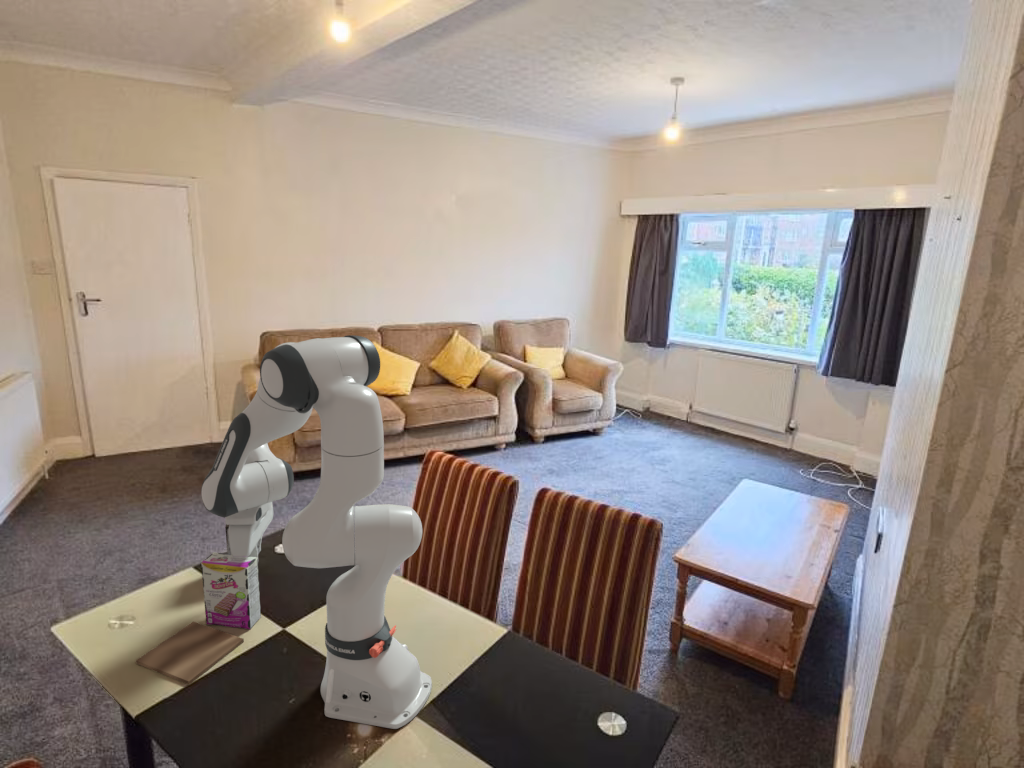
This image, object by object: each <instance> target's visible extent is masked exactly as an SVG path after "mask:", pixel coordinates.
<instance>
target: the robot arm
mask: <svg viewBox="0 0 1024 768" xmlns="http://www.w3.org/2000/svg"><path fill="white" fill-rule="evenodd" d="M380 372H381V358H380V354H379V351H378V350H377V347H376V346H375V344H374V343H373V342H372V341H371V340H370V339H369V338H367V337H364V336H362V335H361V336H360V335H352V334H350V335H349V334H347V335H345V336H336V337H335V336H334V337H325V338H320V337H317V338H312V339H306V340H302V341H298V342H296V341H295V342H293V341H290V342H289V341H288V342H283V343H280V344H278V345H277V346H275V347H274V348H272V349H271V350H268V351H267V352H266V353H265V354H264V355H263V357H262V359H261V362H260V367H259V381H258V385H257V390H256V393H255V395H254V396H253V398H252V399H251V400H250V402H249V403H248V405H247V406H246V407H245V409H243V410H242V412H240V413H239V414H238V415H236V417H234V418H233V419H232V421H231V423H230V425H229V427H228V429H227V430H226V434H225V435H224V438H223V441H222V443H221V445H220V447H219V450H218V453H217V455H216V458H215V460H214V463H213V464H212V467H211V469H210V470H209V472H208V473H207V475H206V476H205V478H204V480H203V482H202V484H201V501H202V504H203V506H204V508H205V510H206V511H207V512H209V513H212V514H213V515H215V516H217V517H220V518H224V519H225V520H224V521H225V526H226V525H229V530H228V535H229V544H230V551H231V554H232V556H233V557H248V556H250V557H257V556H258V557H259V554H260V552H261V551H262V540H263V535H264V533H265V531H266V530H267V528H268V527H269V526H270V524H271V522H272V521H273V518H274V507H273V506H274V505H273V502H275V501H279V500H282V499H284V498H287V497H288V496H289V495H290V493H291V492H292V489H293V487H294V485H295V484H294V483H295V482H294V481H295V477H294V476H295V475H294V470H293V467H292V465H291V464H290V463H288V462H287V461H285V460H284V459H281V458H280V457H277V456H275V454H274V453H273V452H272V451H271V448H270V447H269V443H270V442H273V441H275V440H277V439H280V438H283V437H285V436H288V435H290V434H293V433H295V432H297V431H299V430H300V429H301V428H302V427H303V426H304V425H305V424H306V423H307V421H308V420H309V418H310V417H311V416H312V413H313V409H314V410H315V411H316V413H317V414H318V417H319V420H320V452H321V453H320V454H321V455H320V456H321V459H320V461H321V462H320V463H321V466H320V478H319V479H320V481H319V484H318V488H317V491H316V493H315V494H314V497H313V498H312V500H311V501H310V502H309V503H308V504H307V505H306V506H305V507H304V508H303V509H302V510H300V511H299V512H297V513H296V514H294V515H293V516H292V517H291V518H290V520H289V521H288V522H287V524H286V526H285V528H284V531H283V533H282V538H281V539H282V540H281V541H282V549H283V553H284V555H285V557H286V559H287V560H288V561H289V562H290V564H292V565H293V566H295V567H300V568H301V567H302V568H308V569H309V568H310V569H326V568H327V569H328V568H336V567H347V566H354V567H352V568H351V569H349V570H348V571H345V572H344V573H342V574H341V575H339V576H338V577H337V578H336V579H335V580H334V581H333V582H332V583H331V585H330V586H329V588H328V591H327V593H326V597H325V598H326V600H325V601H326V623H325V626H324V627H325V628H324V642H325V644H324V645H325V647H326V660H325V661H326V662H325V669H324V672H323V673H324V674H323V678H322V681H321V684H320V690H319V691H320V695H321V698H322V700H323V703H324V709H323V710H324V711H323V712H324V713H323V714H324V715H325V717H327V718H331V719H337V720H343V721H347V722H353V723H359V724H364V725H370V726H377V727H381V728H387V729H393V730H397V729H399V728H402V727H403V726H405V725H407V724H408V723H410V722H411V721H413V719H414V718H415V717H417V715H418V714H419V713H420V712H421V710H422V708H423V707H425V704H426V703H427V701H428V699H429V697H430V696H431V695H430V694H431V691H432V687H433V683H432V677H431V676H430V675H429V674H427V673H426V672H424V671H421V667H420V664H419V660H418V658H417V657H416V656H415V655H414V654H413V653H412V652H411V651H410V649H409V647H408V645H407V644H405V643H401V642H399V640H397V638H396V637H394V634H395V633H396V631H397V629H396V627H397V625H396V624H395V625H394V626H393V627H392V628H390V625H389V623H388V620H387V617H386V616H385V606H386V605H385V602H386V593H387V592H386V591H387V587H388V585H389V582H390V579H391V577H392V576H393V574H394V573H395V572H396V570H397V569H398V568H399V567H400V565H402V564H403V563H404V562H405V561H406V560H407V559H409V558H410V557H412V556H413V555H414V553H416V551H417V550H418V548H419V546H420V544H421V541H422V537H423V523H422V521H421V518H420V516H419V515H418V513H417V512H416V511H415V510H414V509H413V507H411V506H407V505H399V504H392V503H390V504H389V503H384V504H381V503H380V504H372V505H371V504H370V505H355V504H357V503H358V502H360V501H362V500H364V499H366V498H368V497H370V496H371V495H372V494H374V492H375V491H377V489H378V488H379V487H380V486H381V484H382V483H383V480H384V475H385V441H384V439H385V438H384V435H385V432H384V422H383V415H382V408H381V404H380V400H379V397H378V395H377V393H376V392H375V391H374V390H373V389H372V388H370V387H368V386H370V385H372V384H373V383H375V381H376V380H377V379H378V377H379V375H380Z"/></svg>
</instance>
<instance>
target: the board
mask: <svg viewBox="0 0 1024 768" xmlns="http://www.w3.org/2000/svg"><path fill="white" fill-rule="evenodd" d="M243 643H244V638H242V637H239V636H237V635H234V634H230V633H228V632H226V631H223V630H219V629H217V628H213V627H211V626H208V625H205V624H203V623H199V622H196V621H192V622H190V623H189V624H187V625H185V626H184V627H183V628H182V629H179V631H177V632H175V633H174V634H173V635H171V636H169V637H168V638H167V639H165V640H163V641H162V642H161V643H159V644H158V645H156V646H154V647H153V648H151V649H150V650H149V651H147V652H146V653H145V654H143V655H142V656H140V657H138V658H137V659H136V660H135V664H136V665H138V666H141V667H144V668H146V669H149V670H150V671H153V672H156V673H158V674H162V675H164V676H166V677H169V678H171V679H174V680H176V681H178V682H181V683H184V684H186V685H189V686H190V685H191V684H192V683H194V682H195V681H196V680H198V678H200V677H201V676H202V675H203V674H205V673H206V672H208V671H209V670H210V669H212V668H213V667H214V666H215V665H216V664H218V663H219V662H220V661H221V660H223V659H224V658H225V657H226V656H228V655H229V654H231V653H232V652H233V651H234V650H235V649H237V648H238V647H239V646H241V645H242V644H243Z"/></svg>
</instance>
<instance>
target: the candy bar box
mask: <svg viewBox="0 0 1024 768" xmlns="http://www.w3.org/2000/svg"><path fill="white" fill-rule="evenodd" d="M200 564H201V565H200V566H201V577H202V586H203V589H202V590H203V599H204V611H205V624H206V625H212V626H220V627H229V628H238V629H244V630H251V629H252V628H253V627H254V626H255V624H256V623H257V622H258V621H259V620H260V619H261V618H262V614H261V611H262V610H261V600H260V599H261V597H260V596H261V595H260V578H259V557H258V558H257V557H250V556H248V557H233V556H232V554H227V553H224V552H222V553H221V552H215V551H214V552H212V553H210V555H208V556H207V557H206V558H204V559H203V560H202V562H201V563H200Z"/></svg>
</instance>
